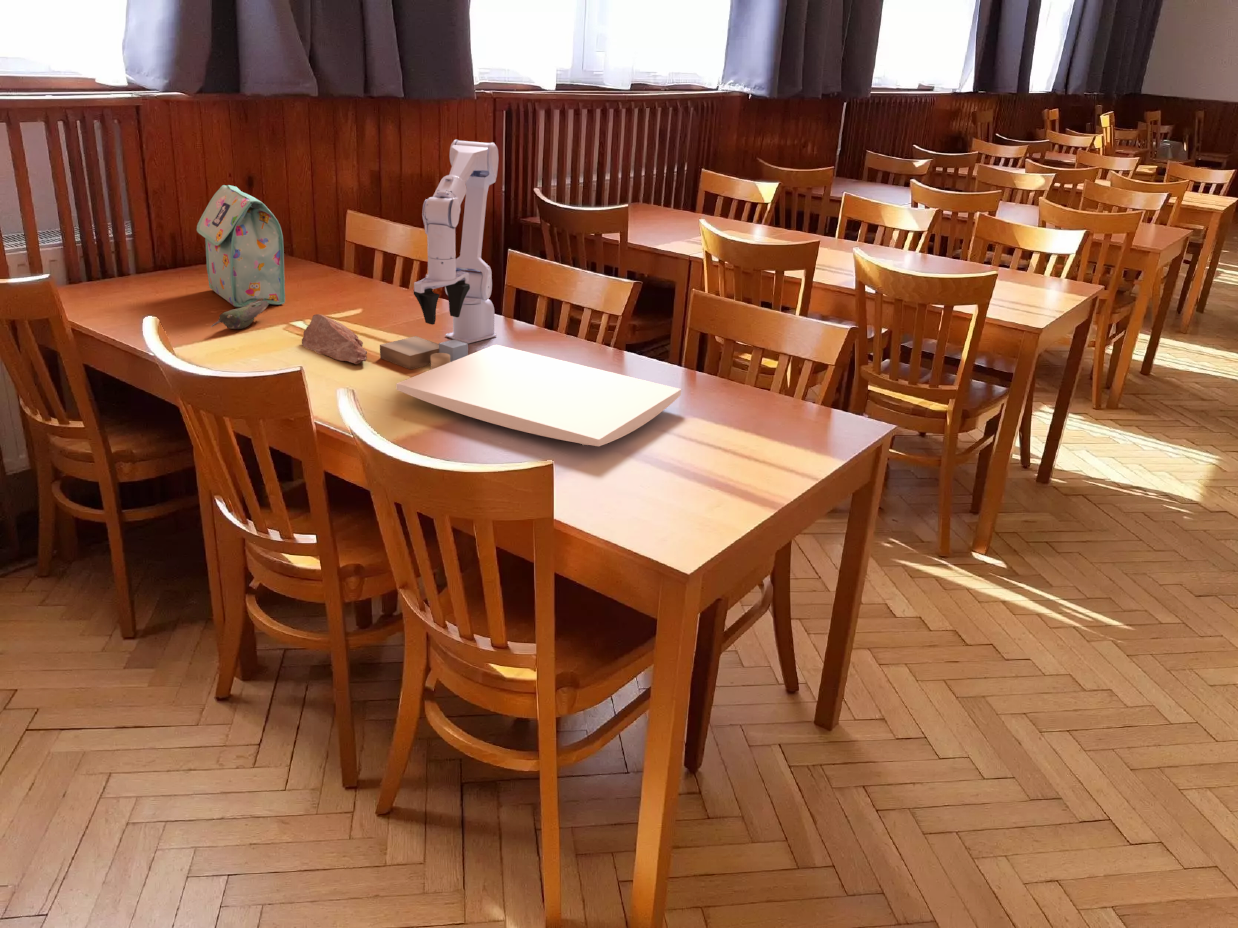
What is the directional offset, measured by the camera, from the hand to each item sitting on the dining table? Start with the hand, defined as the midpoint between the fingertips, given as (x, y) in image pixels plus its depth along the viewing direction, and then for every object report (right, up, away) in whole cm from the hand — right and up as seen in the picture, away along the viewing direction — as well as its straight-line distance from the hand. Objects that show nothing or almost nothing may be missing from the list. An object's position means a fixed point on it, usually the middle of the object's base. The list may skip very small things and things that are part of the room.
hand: (442, 320), depth 210 cm
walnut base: (-7, -8, +4) cm, 12 cm away
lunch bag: (-57, +12, +41) cm, 71 cm away
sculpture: (-50, +1, +18) cm, 53 cm away
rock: (-23, -6, +7) cm, 24 cm away
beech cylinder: (+1, -13, -6) cm, 14 cm away
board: (+22, -20, -17) cm, 35 cm away
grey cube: (+2, -9, +4) cm, 10 cm away
